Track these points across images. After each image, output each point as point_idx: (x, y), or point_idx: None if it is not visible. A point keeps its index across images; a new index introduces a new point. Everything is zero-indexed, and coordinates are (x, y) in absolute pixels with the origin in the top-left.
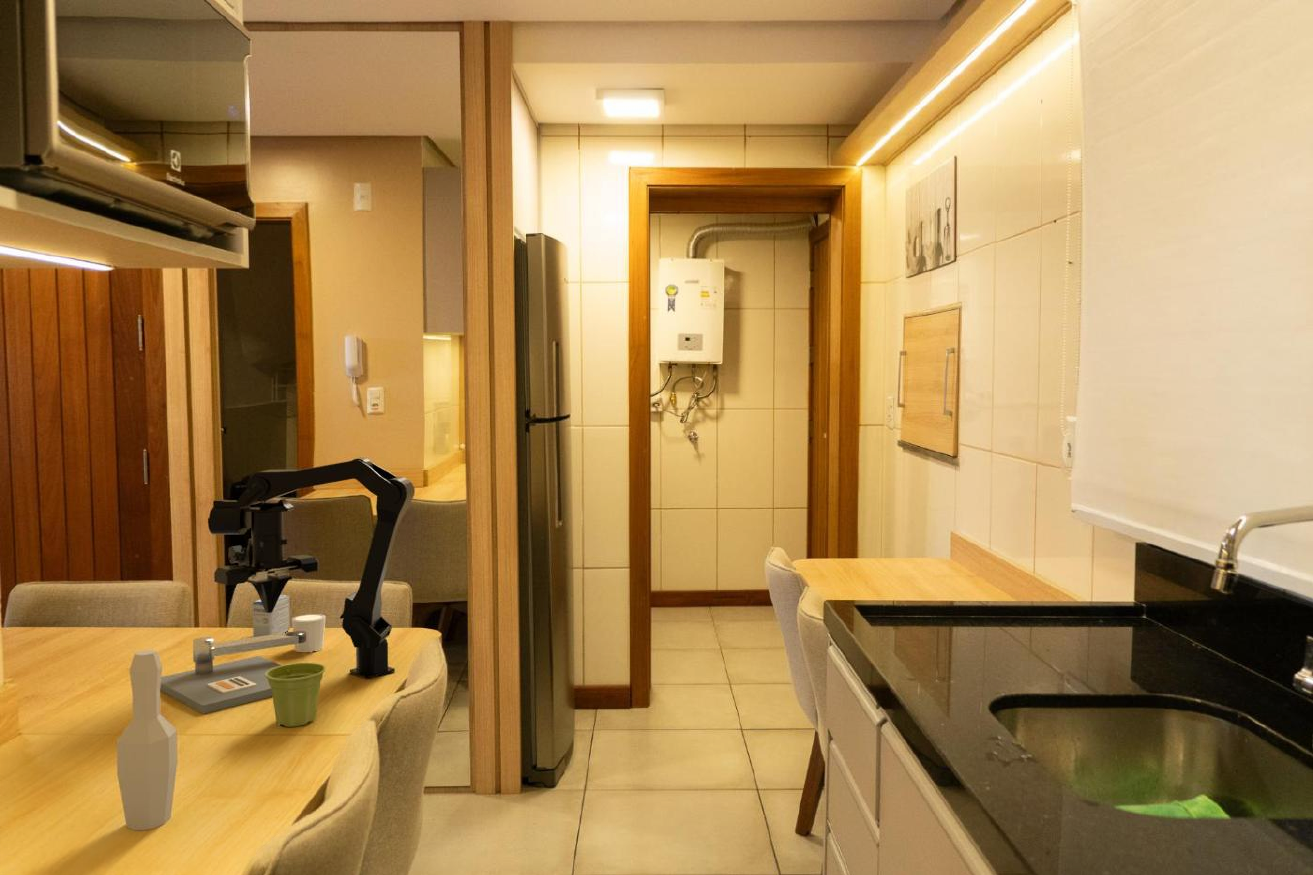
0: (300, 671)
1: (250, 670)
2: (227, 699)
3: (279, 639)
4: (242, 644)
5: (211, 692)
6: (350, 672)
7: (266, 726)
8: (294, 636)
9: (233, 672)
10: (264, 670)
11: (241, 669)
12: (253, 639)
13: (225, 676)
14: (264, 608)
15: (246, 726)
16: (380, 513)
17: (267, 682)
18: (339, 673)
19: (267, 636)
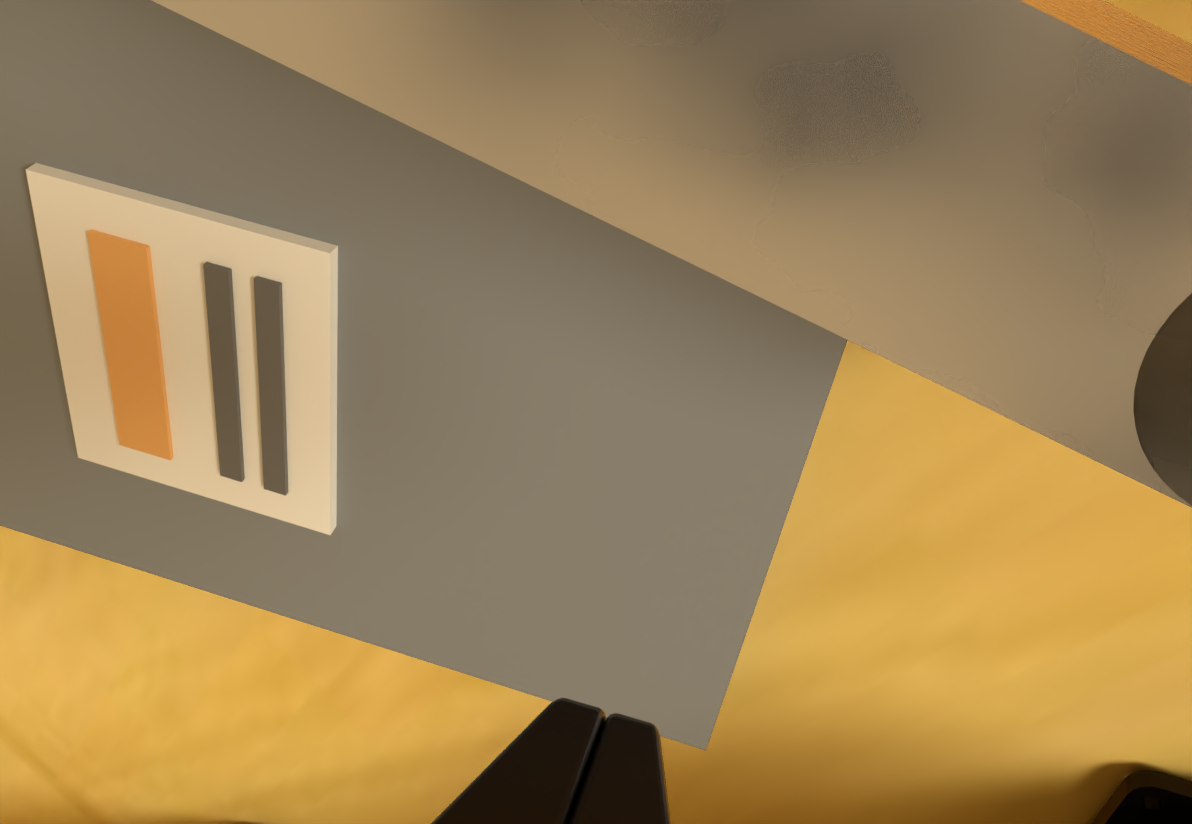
0: None
1: None
2: (74, 548)
3: (924, 373)
4: (388, 115)
5: (23, 349)
6: (1122, 783)
7: (171, 814)
8: (1153, 483)
9: None
10: (626, 274)
11: None
12: (666, 25)
13: (256, 78)
14: (499, 762)
15: (102, 748)
16: None
17: (429, 544)
18: (1093, 704)
19: (956, 80)
